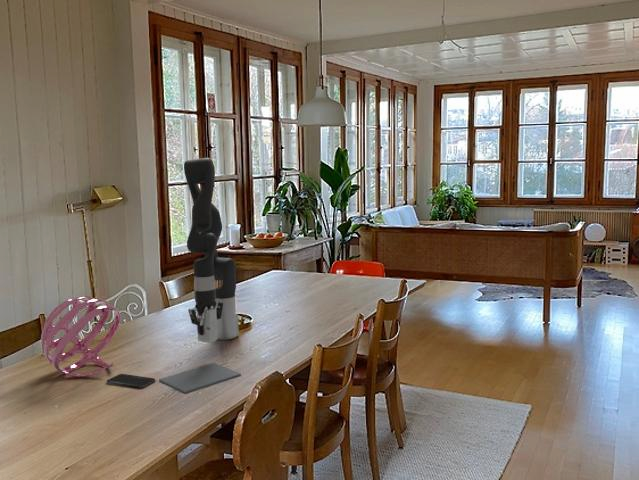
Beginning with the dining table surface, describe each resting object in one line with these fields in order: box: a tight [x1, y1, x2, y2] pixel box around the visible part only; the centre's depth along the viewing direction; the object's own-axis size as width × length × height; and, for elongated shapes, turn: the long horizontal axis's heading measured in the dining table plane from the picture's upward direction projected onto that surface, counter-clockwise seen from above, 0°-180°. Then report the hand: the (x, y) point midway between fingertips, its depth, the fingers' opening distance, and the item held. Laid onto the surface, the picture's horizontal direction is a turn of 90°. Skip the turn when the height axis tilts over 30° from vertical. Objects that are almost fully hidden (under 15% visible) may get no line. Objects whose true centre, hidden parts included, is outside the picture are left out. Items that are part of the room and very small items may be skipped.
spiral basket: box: [40, 295, 122, 378], centre depth 213 cm, size 28×28×27 cm
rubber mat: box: [158, 362, 242, 394], centre depth 206 cm, size 22×16×1 cm
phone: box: [106, 373, 156, 390], centre depth 203 cm, size 8×1×15 cm
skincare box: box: [196, 308, 218, 344], centre depth 223 cm, size 6×4×12 cm
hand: (207, 332), depth 223 cm, fingers closed on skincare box, 5 cm apart
